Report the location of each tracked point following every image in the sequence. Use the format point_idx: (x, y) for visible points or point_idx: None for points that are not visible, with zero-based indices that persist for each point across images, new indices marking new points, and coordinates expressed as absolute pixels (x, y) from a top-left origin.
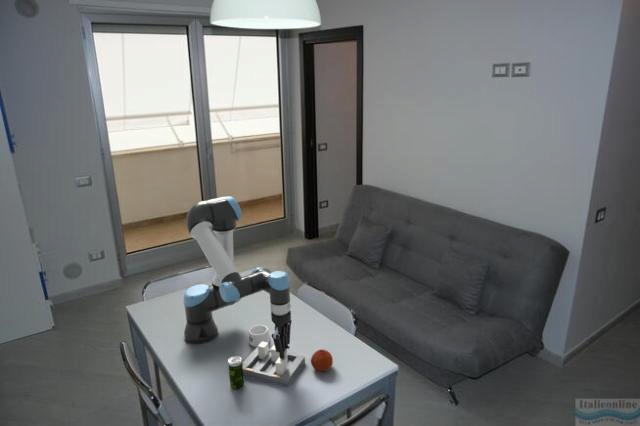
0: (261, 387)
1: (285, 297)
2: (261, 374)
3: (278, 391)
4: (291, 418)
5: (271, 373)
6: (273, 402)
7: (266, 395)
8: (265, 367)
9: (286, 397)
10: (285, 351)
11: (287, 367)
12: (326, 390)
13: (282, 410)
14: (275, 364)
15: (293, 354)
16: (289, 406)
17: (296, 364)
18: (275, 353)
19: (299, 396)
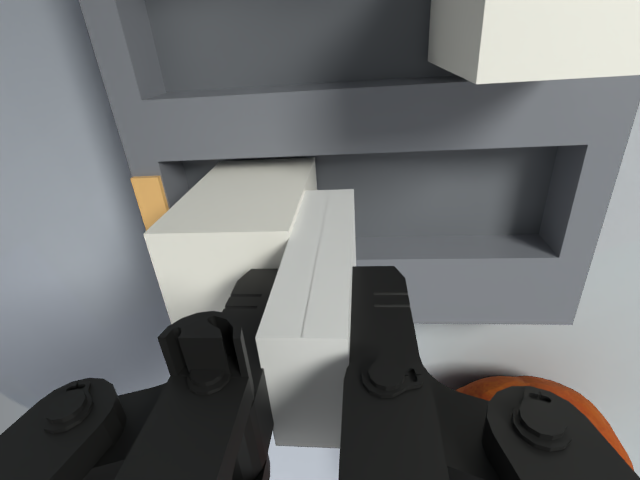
0: (58, 82)
1: None
2: (91, 17)
3: (119, 242)
4: (10, 392)
5: (162, 140)
6: (15, 262)
7: (24, 181)
8: None
9: (110, 314)
10: (277, 440)
11: (393, 197)
12: (293, 464)
13: (12, 336)
14: (161, 221)
15: (600, 204)
16: (65, 356)
17: (415, 303)
18: (458, 33)
19: (168, 372)
